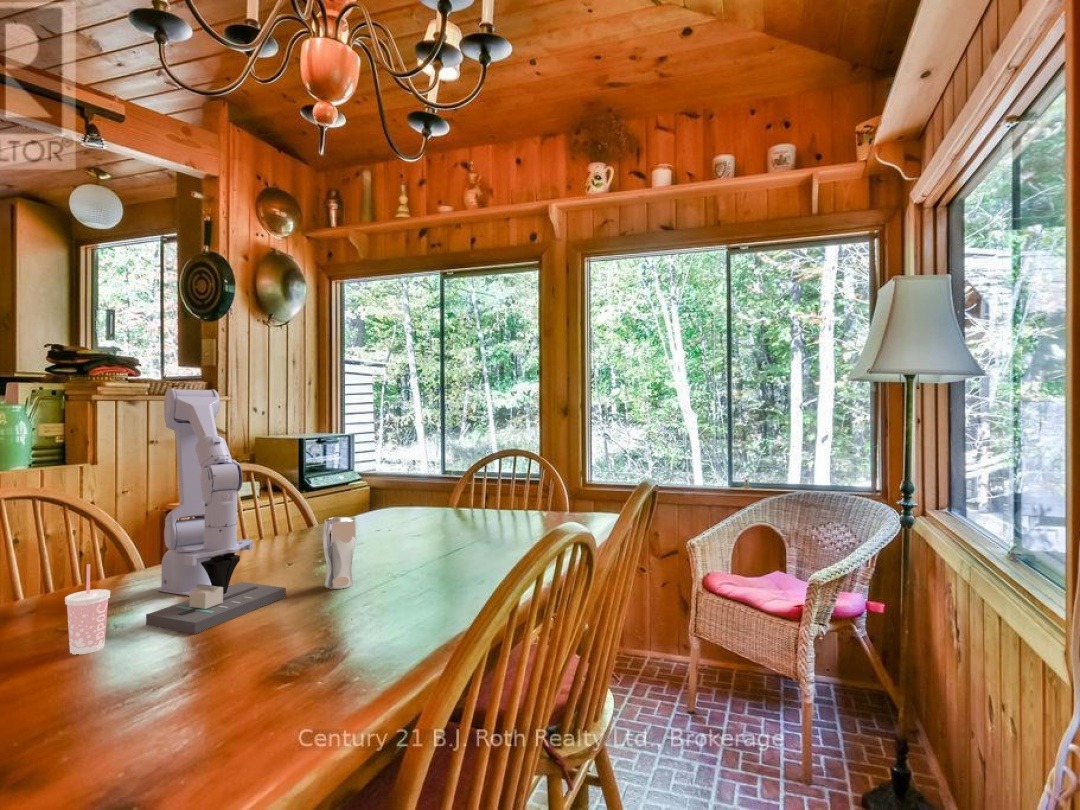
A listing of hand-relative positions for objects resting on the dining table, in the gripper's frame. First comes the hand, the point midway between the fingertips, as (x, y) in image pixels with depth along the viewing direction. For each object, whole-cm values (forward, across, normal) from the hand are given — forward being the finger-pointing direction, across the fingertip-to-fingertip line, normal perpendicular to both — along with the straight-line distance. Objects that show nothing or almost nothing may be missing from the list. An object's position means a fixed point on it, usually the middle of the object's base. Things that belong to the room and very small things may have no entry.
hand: (220, 593), depth 118 cm
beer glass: (+4, +22, -11) cm, 25 cm away
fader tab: (+1, -3, 0) cm, 3 cm away
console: (+3, 0, 0) cm, 3 cm away
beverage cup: (+4, -22, +5) cm, 23 cm away
